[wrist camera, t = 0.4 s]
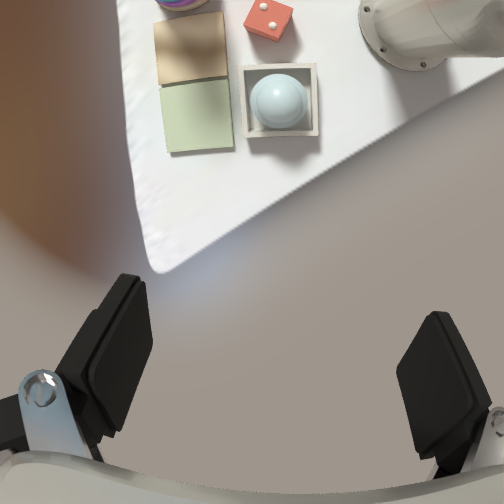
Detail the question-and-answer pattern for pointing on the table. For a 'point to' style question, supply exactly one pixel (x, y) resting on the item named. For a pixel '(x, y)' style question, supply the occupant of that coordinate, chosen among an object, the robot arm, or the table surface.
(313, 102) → the popper housing
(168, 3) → the stacking toy
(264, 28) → the die
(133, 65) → the table surface
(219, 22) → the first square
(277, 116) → the dome
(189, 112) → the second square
